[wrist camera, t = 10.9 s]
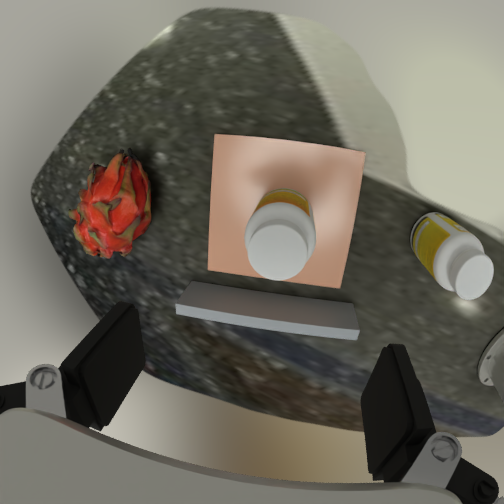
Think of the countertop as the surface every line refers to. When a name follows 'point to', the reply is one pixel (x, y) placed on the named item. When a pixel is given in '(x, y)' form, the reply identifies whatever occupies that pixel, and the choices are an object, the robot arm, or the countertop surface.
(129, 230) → the dragon fruit
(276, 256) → the supplement bottle
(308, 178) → the tile
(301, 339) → the countertop surface
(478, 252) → the supplement bottle
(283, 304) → the low wall
